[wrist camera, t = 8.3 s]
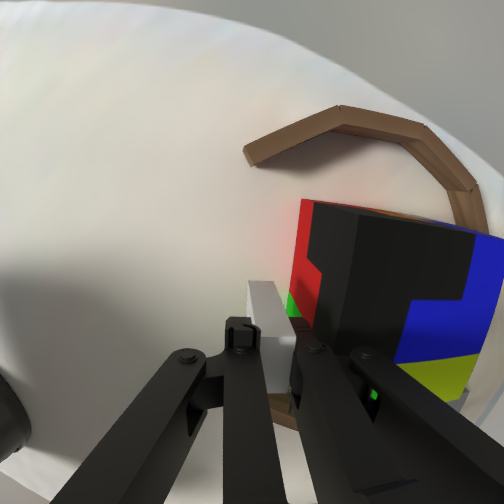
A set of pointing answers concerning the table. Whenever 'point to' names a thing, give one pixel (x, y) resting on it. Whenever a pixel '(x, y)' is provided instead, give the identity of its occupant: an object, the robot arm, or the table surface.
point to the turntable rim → (388, 129)
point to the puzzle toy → (397, 289)
